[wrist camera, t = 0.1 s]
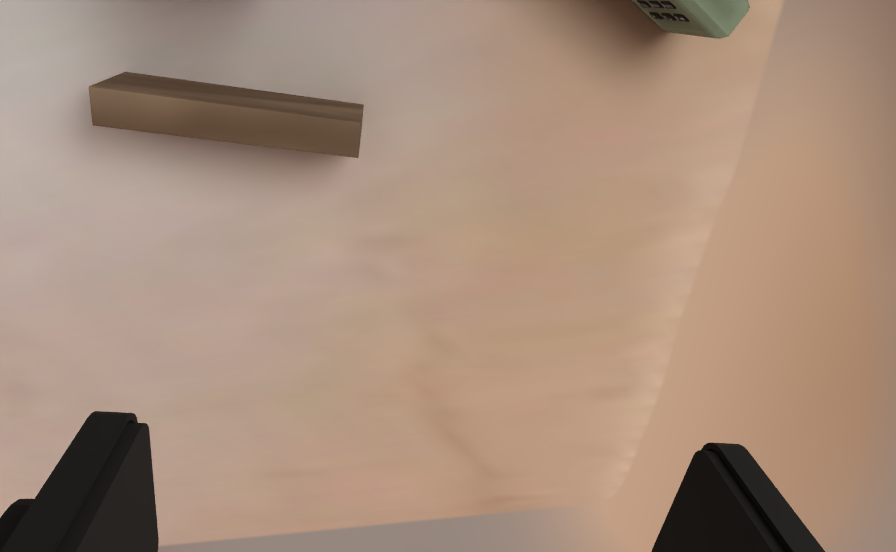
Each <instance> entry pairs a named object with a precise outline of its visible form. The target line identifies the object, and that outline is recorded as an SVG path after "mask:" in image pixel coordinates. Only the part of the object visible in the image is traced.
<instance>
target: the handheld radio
mask: <svg viewBox="0 0 896 552" xmlns="http://www.w3.org/2000/svg"><path fill="white" fill-rule="evenodd" d="M632 1H633V2H634V3H635V4H636V5H637V6H638V7H639V8H640V9H641V10H642V11H643V12H644V13H645V14H647V15H648V16H649V17H650V18H651V19H652V20H653V21H654V22H655V23H656V24H657V25H658V26H659V27H660V28H661V29H662V30H663V31H665V32H672V33H679V34H687V35H695V36H703V37H710V38H723V37H727V36H729V35H730V34H731V33H732V31H733V30H734V29H735V27H736V26H737V25H738V24H739V22H740V21H741V20H742V19H743V17H744V16H745V15H746V14H747V12H748V11H749V8H750V6H749V2H748V0H632Z"/></svg>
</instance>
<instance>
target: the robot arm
mask: <svg viewBox="0 0 896 552" xmlns="http://www.w3.org/2000/svg"><path fill="white" fill-rule="evenodd" d="M157 551H158V529H157V517H156V505H155V494H154V482H153V470H152V459H151V447H150V435H149V427H148V425H147V424H146V423H138V422H137V417H136V415H135V414H133V413H119V412H100V411H95V412H93V413H91V414H90V416H89V417H88V418H87V420H86V421H85V423H84V424H83V426H82V427H81V429H80V430H79V432H78V433H77V435H76V436H75V438H74V439H73V441H72V443H71V444H70V446H69V447H68V449H67V450H66V452H65V453H64V455H63V456H62V458H61V459H60V461H59V462H58V464H57V466H56V467H55V469H54V470H53V472H52V473H51V475H50V476H49V478H48V479H47V481H46V482H45V484H44V485H43V487H42V488H41V490H40V492H39V493H38V495H37V496H36V498H35V499H19V500H17V501H16V502H14V503H13V504H11V505H10V507H9V508H8V509H7V510H6V511H5V512H4V514H3V515H2V516H1V518H0V552H157ZM652 552H825V551H824V550H823V548H822V547H821V546H820V544H819V543H818V542H817V541H816V539H815V538H814V537H813V535H812V534H811V533H810V532H809V530H808V529H807V528H806V526H805V525H804V524H803V523H802V521H801V520H800V518H799V517H798V516H797V514H796V513H795V512H794V511H793V509H792V508H791V507H790V505H789V504H788V503H787V501H786V500H785V499H784V497H783V496H782V495H781V494H780V492H779V491H778V490H777V488H776V487H775V486H774V484H773V483H772V482H771V480H770V479H769V478H768V477H767V475H766V474H765V473H764V471H763V470H762V469H761V468H760V466H759V465H758V464H757V462H756V461H755V460H754V458H753V457H752V456H751V454H750V453H749V452H748V450H746V449H745V447H743V446H741V445H739V444H725V443H707V444H706V445H704V446H703V448H702V450H701V451H697V452H696V453H695V454H694V456H693V458H692V461H691V463H690V465H689V467H688V469H687V472H686V474H685V476H684V479H683V481H682V483H681V485H680V488H679V490H678V492H677V494H676V497H675V499H674V501H673V504H672V506H671V508H670V510H669V512H668V515H667V517H666V520H665V522H664V524H663V526H662V529H661V531H660V533H659V535H658V537H657V540H656V542H655V545H654V547H653V549H652Z"/></svg>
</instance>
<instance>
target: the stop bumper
mask: <svg viewBox="0 0 896 552" xmlns="http://www.w3.org/2000/svg"><path fill="white" fill-rule="evenodd" d="M89 94H90V103H91V112H92V122H93V125H95V126H103V127H111V128H119V129H127V130H136V131H144V132H152V133H160V134H168V135H176V136H184V137H192V138H200V139H209V140H217V141H225V142H233V143H241V144H249V145H257V146H265V147H274V148H282V149H290V150H298V151H306V152H314V153H322V154H330V155H339V156H347V157H355V158H358V155H359V146H360V138H361V127H362V116H363V105H362V104H355V103H347V102H340V101H333V100H325V99H318V98H311V97H304V96H296V95H289V94H282V93H275V92H267V91H260V90H253V89H245V88H238V87H231V86H224V85H216V84H209V83H202V82H195V81H187V80H180V79H173V78H165V77H158V76H151V75H144V74H136V73H129V72H124V73H122V74H119V75H117V76H114V77H112V78H109V79H107V80H104V81H102V82H99V83H97V84H94V85H92V86H89Z"/></svg>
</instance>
